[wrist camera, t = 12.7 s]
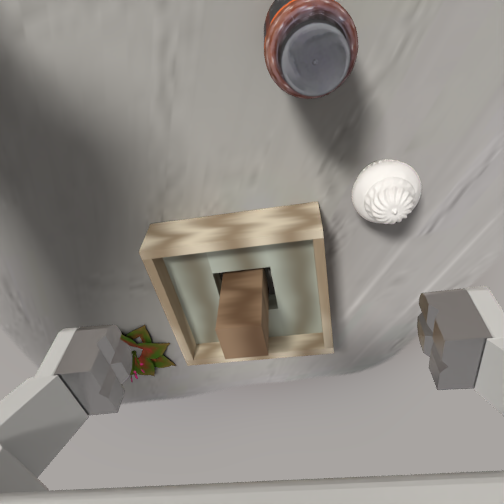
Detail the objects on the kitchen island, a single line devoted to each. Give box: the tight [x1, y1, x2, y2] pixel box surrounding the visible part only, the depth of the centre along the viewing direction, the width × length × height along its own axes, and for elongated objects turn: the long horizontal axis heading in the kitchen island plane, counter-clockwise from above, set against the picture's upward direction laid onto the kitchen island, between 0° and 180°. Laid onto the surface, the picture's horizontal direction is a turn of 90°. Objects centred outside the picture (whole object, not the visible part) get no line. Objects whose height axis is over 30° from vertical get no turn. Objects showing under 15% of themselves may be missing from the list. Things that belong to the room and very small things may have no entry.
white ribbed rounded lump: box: [352, 159, 422, 224], centre depth 37 cm, size 6×6×7 cm
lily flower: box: [120, 325, 177, 382], centre depth 56 cm, size 12×12×5 cm
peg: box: [215, 268, 269, 359], centre depth 45 cm, size 4×4×10 cm
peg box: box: [139, 202, 334, 366], centre depth 47 cm, size 18×18×5 cm
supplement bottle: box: [264, 0, 358, 99], centre depth 28 cm, size 6×6×11 cm
